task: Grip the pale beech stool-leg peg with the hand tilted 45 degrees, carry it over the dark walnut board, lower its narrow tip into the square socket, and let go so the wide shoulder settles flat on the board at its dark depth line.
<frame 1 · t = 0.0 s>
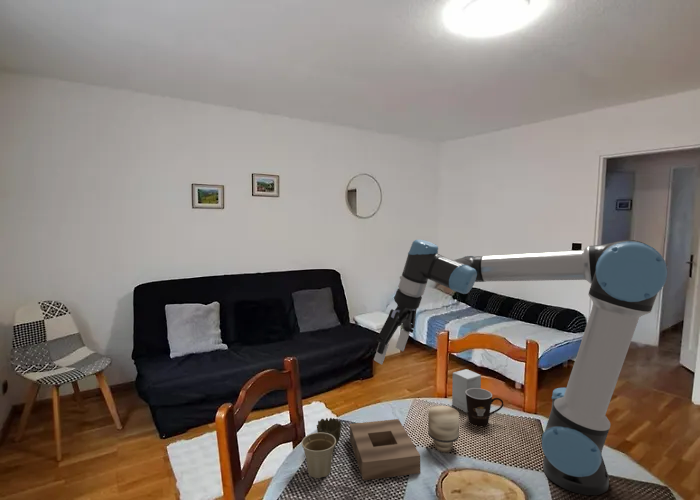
hand: (389, 355, 118), 28 cm above the table, tool tilted 20°, fingers open, 13 cm apart
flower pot: (319, 472, 107), on the table
peg: (443, 447, 117), on the table
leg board: (382, 454, 114), on the table
coffee mug: (482, 423, 131), on the table
supplement box: (466, 407, 143), on the table
dark green spiky plant: (329, 449, 117), on the table
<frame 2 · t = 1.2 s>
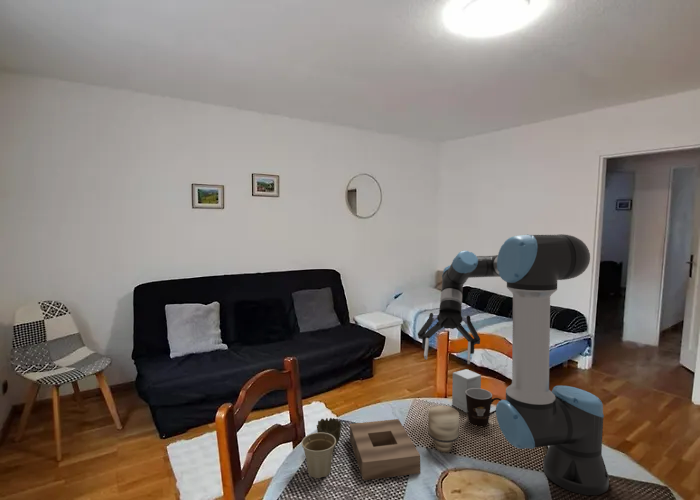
hand: (446, 360, 125), 24 cm above the table, tool tilted 45°, fingers open, 13 cm apart
nothing on the table moved.
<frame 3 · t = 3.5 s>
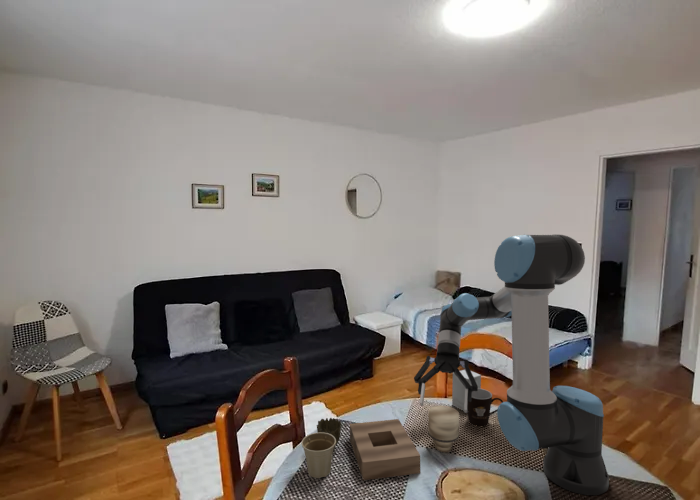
hand: (443, 408, 122), 10 cm above the table, tool tilted 45°, fingers open, 13 cm apart
nothing on the table moved.
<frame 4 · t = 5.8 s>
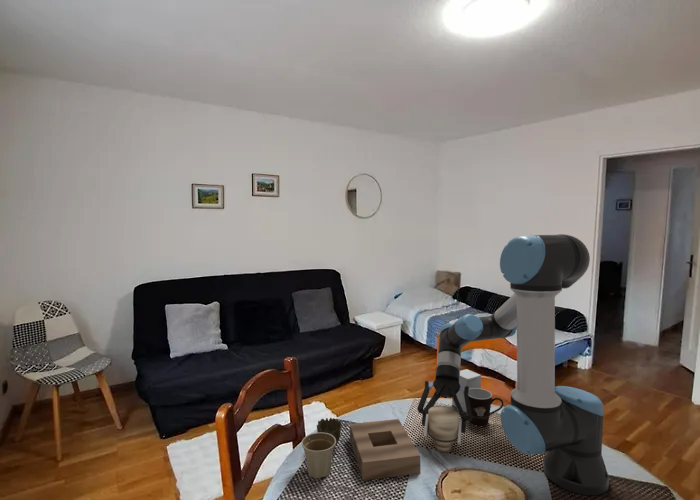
hand: (442, 440, 114), 4 cm above the table, tool tilted 45°, fingers closed on peg, 9 cm apart
peg: (443, 447, 117), on the table, touching gripper
everything else where it was.
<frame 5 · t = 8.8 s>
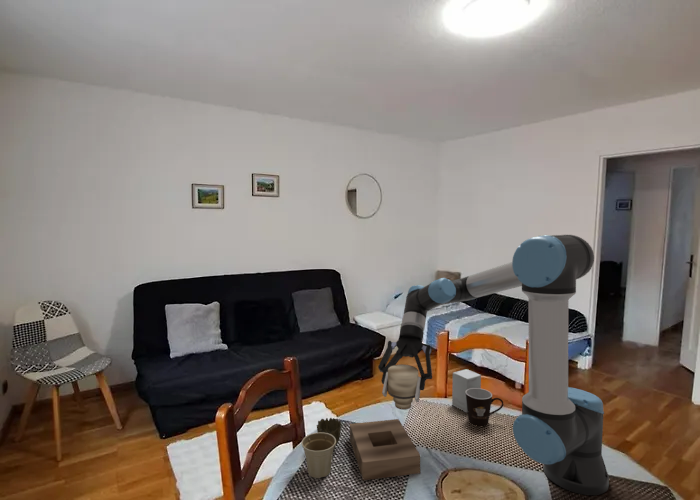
hand: (400, 397, 113), 17 cm above the table, tool tilted 45°, fingers closed on peg, 9 cm apart
peg: (403, 405, 117), point 13 cm above the table, touching gripper
everything else where it was.
when the fingers open (7 cm above the table, at t = 12.1 s): peg drops 2 cm, resting on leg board.
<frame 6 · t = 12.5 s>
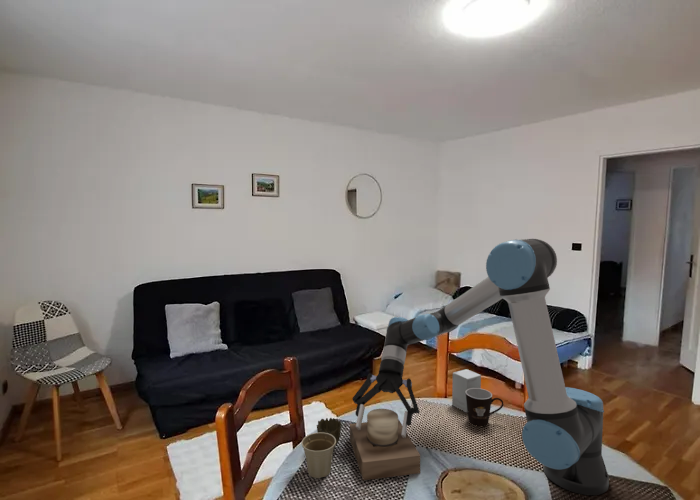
hand: (380, 432, 111), 8 cm above the table, tool tilted 45°, fingers open, 13 cm apart
peg: (382, 452, 114), point 1 cm above the table, touching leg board
everything else where it was.
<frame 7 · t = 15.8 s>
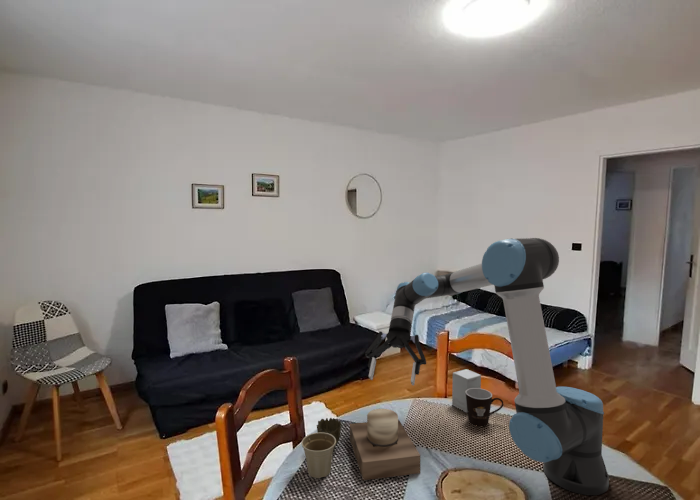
hand: (391, 380, 123), 18 cm above the table, tool tilted 45°, fingers open, 13 cm apart
nothing on the table moved.
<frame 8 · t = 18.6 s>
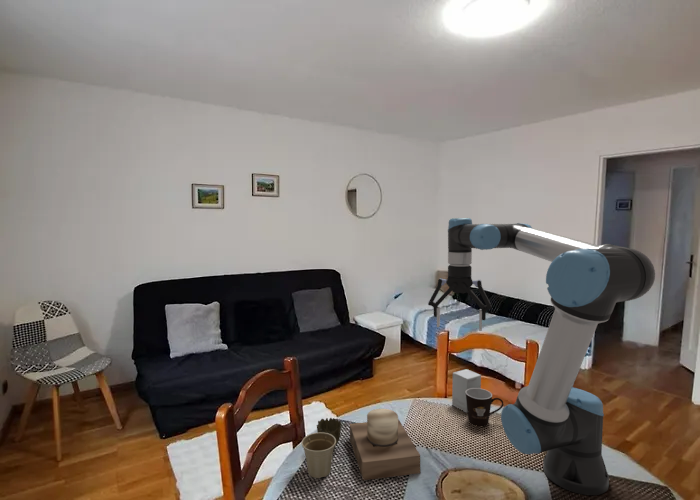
hand: (459, 328, 130), 33 cm above the table, tool pointing down, fingers open, 13 cm apart
nothing on the table moved.
at the end: peg 0.1 cm off-centre on the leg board, point 0.8 cm above the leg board's base; peg tilted 0°; the gripper is holding nothing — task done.
